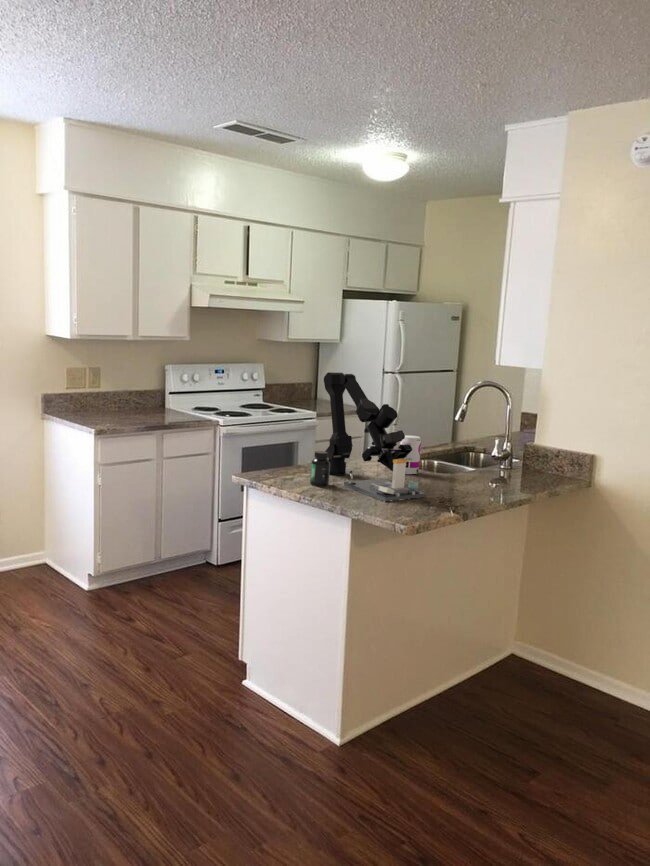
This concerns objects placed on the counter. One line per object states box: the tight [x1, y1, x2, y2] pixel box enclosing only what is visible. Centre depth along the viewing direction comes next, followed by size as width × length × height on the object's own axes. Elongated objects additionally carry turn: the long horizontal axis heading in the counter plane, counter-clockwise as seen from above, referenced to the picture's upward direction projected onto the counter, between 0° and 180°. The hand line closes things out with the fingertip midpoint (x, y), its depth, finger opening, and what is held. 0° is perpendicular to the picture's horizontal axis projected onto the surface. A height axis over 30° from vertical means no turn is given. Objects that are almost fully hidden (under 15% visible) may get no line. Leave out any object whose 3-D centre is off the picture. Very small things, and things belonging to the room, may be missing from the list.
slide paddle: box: [388, 459, 408, 493], centre depth 250 cm, size 5×5×11 cm
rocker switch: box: [378, 486, 394, 494], centre depth 247 cm, size 4×3×1 cm
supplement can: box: [399, 434, 422, 475], centre depth 290 cm, size 8×8×15 cm
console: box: [343, 477, 426, 502], centre depth 257 cm, size 24×18×2 cm
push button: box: [407, 480, 419, 490], centre depth 253 cm, size 3×3×2 cm
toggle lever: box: [348, 469, 354, 481], centre depth 260 cm, size 1×1×4 cm
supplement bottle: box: [309, 450, 331, 488], centre depth 261 cm, size 7×7×12 cm
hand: (396, 472), depth 251 cm, fingers closed
